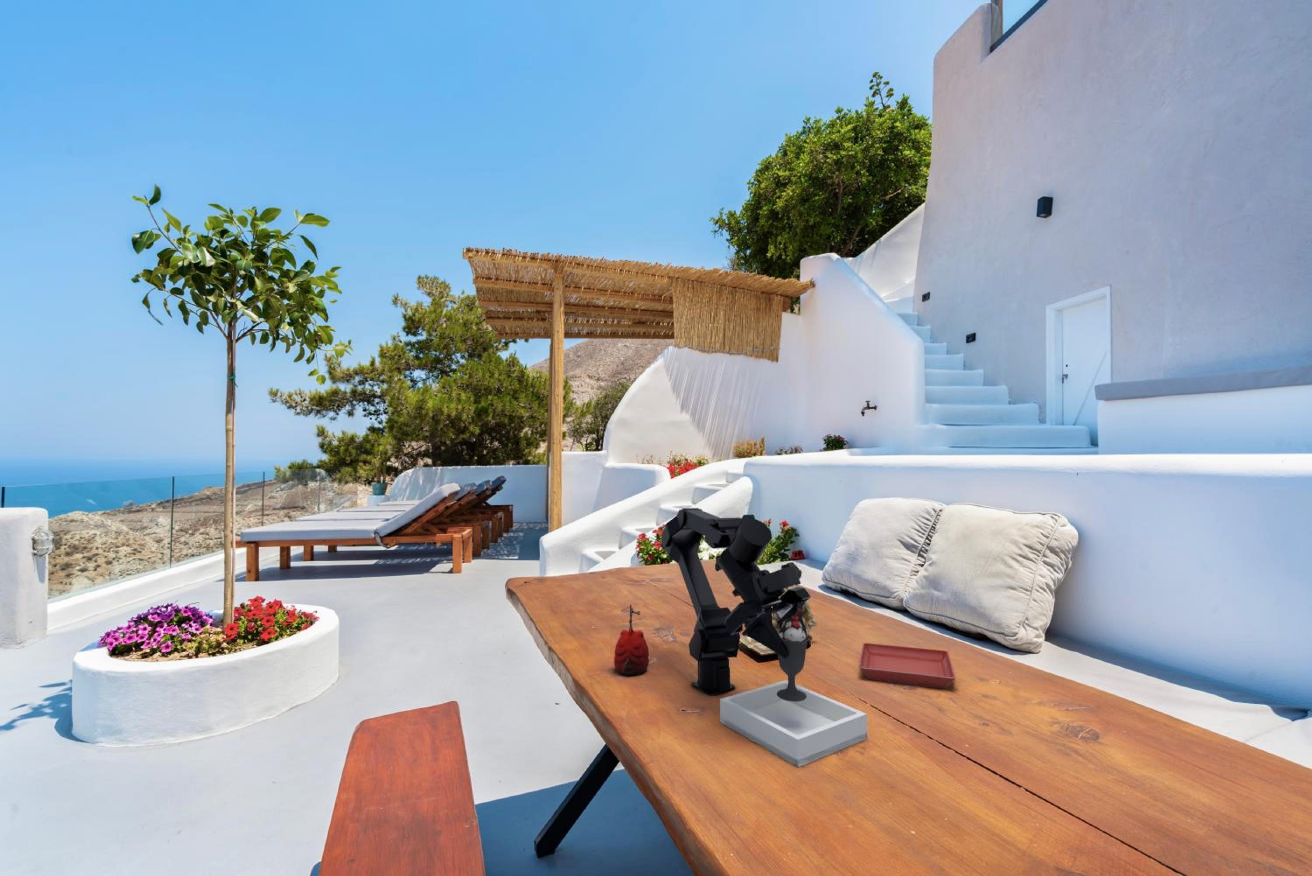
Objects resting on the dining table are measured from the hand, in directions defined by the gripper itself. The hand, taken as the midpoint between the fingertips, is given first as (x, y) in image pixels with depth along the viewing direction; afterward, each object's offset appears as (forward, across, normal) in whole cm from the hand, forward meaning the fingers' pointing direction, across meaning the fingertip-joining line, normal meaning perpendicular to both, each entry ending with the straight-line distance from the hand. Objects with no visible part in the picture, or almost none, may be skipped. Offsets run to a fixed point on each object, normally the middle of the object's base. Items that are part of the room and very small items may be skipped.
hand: (798, 652), depth 98 cm
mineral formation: (-11, +44, +31) cm, 55 cm away
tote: (+8, 0, +10) cm, 13 cm away
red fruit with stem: (-19, -1, +39) cm, 43 cm away
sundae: (+5, 0, +6) cm, 8 cm away
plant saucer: (+10, +41, +10) cm, 43 cm away
